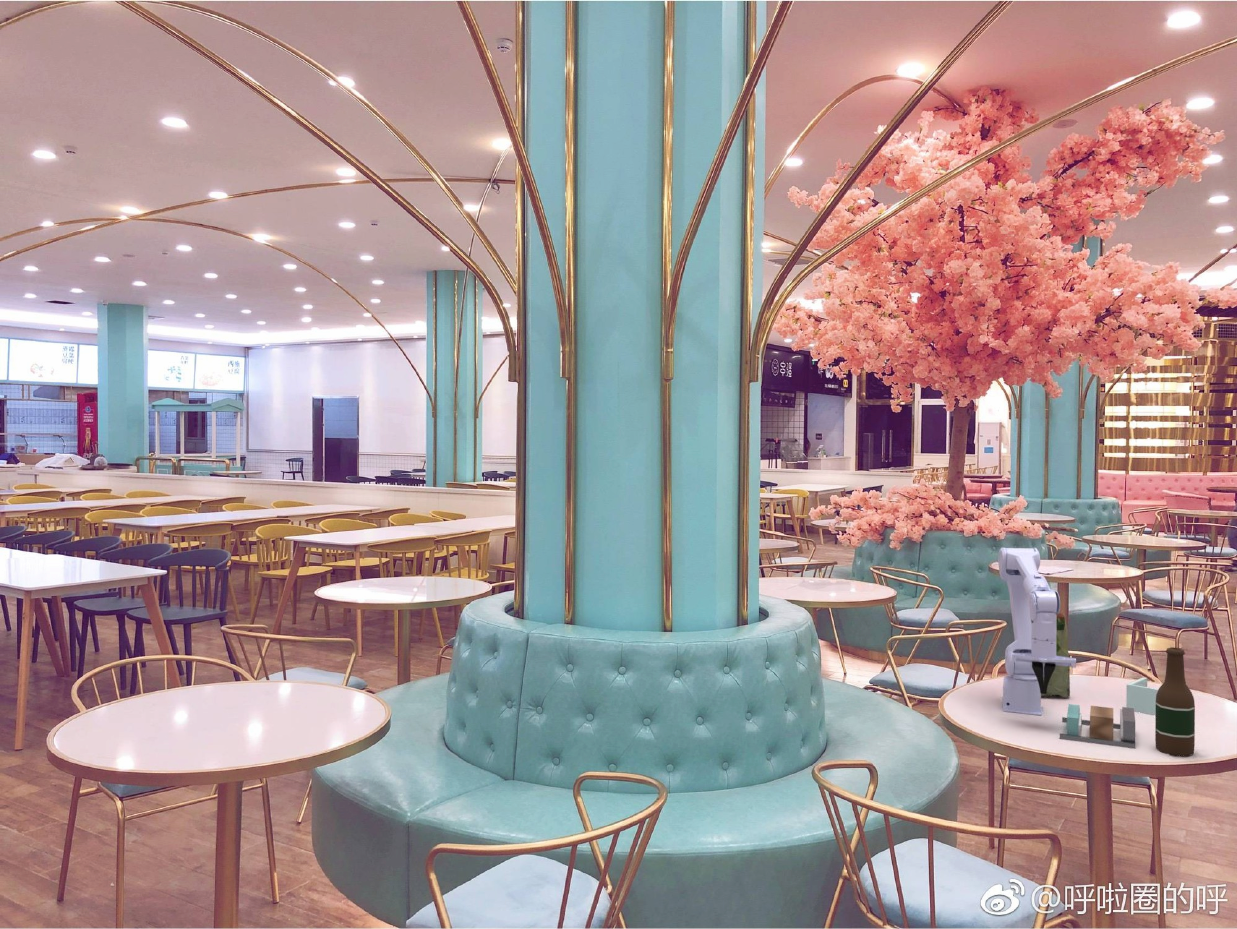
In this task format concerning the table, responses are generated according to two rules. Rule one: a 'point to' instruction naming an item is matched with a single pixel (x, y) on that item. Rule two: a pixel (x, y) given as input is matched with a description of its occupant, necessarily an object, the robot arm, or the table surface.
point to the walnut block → (1101, 722)
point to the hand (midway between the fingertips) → (1043, 692)
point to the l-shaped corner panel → (1141, 697)
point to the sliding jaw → (1074, 720)
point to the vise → (1125, 728)
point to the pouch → (1060, 676)
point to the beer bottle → (1175, 709)
